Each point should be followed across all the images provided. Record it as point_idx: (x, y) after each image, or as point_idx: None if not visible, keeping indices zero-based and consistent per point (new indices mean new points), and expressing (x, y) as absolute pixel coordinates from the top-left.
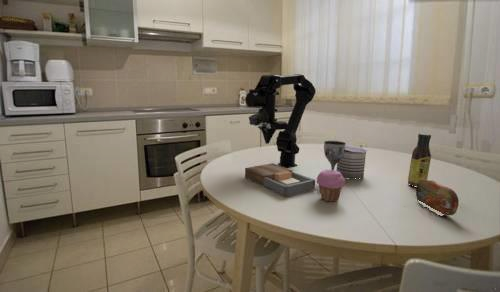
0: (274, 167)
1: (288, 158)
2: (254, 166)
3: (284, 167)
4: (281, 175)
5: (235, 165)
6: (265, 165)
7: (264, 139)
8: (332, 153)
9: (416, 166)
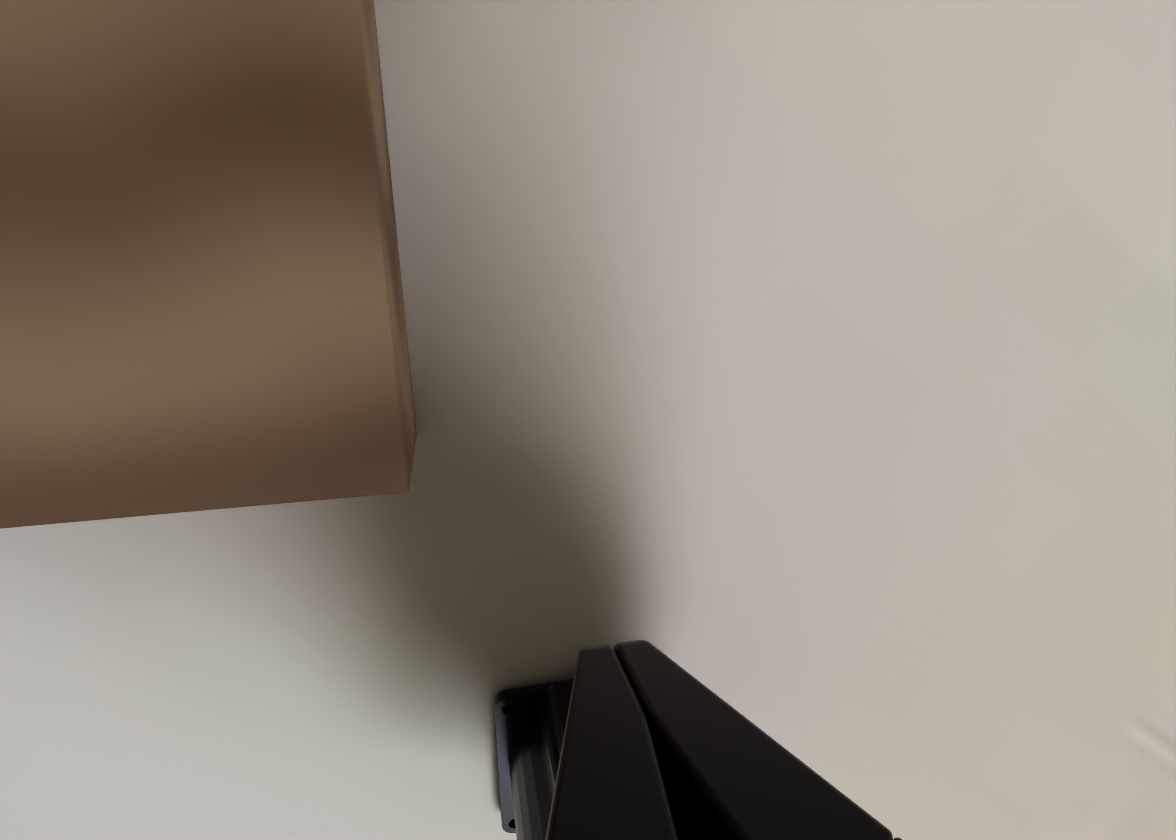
0: (119, 361)
1: (535, 815)
2: (358, 36)
3: (52, 523)
4: None
5: (961, 163)
6: (327, 289)
7: (733, 714)
8: None
9: None
